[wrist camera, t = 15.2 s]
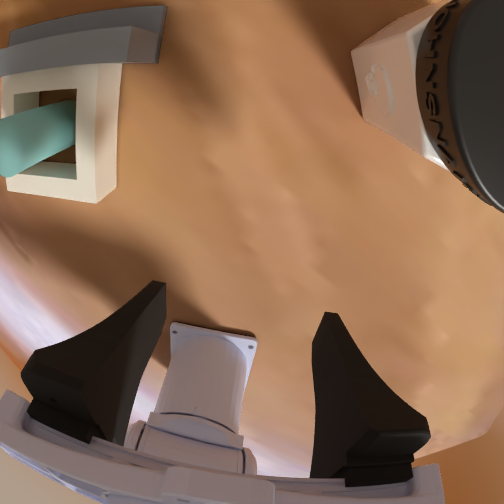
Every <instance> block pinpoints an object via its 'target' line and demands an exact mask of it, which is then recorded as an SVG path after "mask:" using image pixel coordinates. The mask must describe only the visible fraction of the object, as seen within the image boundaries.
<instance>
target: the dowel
mask: <svg viewBox="0 0 504 504" xmlns="http://www.w3.org/2000/svg"><path fill="white" fill-rule="evenodd" d="M75 144H76V101H74V100H65V101H61V102H57V103H53V104H49V105H45V106H41V107H38V108H34V109H31V110H27V111H24V112H20V113H17V114H14V115H11V116H8V117H5V118H2V119H0V175H1V176H3V177H8V178H9V177H13V176H14V175H16V174H18V173H20V172H22V171H23V170H25V169H27V168H29V167H31V166H33V165H35V164H36V163H38V162H40V161H42V160H44V159H46V158H48V157H50V156H52V155H54V154H56V153H58V152H60V151H62V150H65V149H67V148H69V147H71V146H73V145H75Z"/></svg>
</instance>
